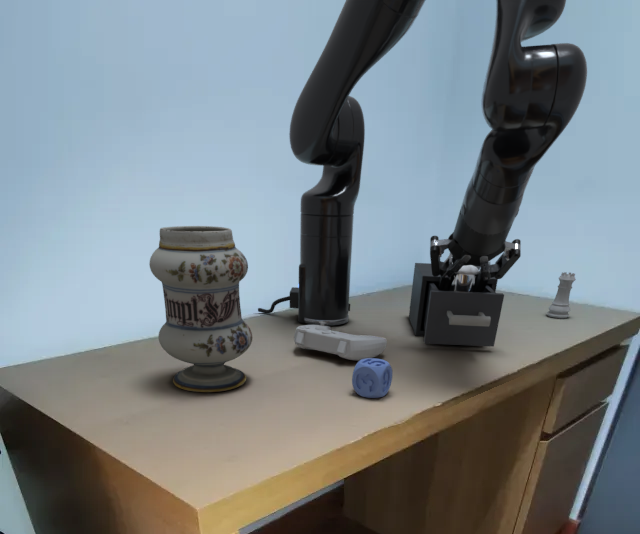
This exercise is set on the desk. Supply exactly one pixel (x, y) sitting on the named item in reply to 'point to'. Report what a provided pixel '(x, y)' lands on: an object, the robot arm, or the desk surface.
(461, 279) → the milkshake
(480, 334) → the drawer
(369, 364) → the decorative dice
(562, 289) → the rook chess piece
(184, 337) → the apothecary jar
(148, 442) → the desk surface
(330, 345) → the game controller
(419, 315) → the small filing cabinet
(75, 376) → the desk surface
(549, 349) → the desk surface
